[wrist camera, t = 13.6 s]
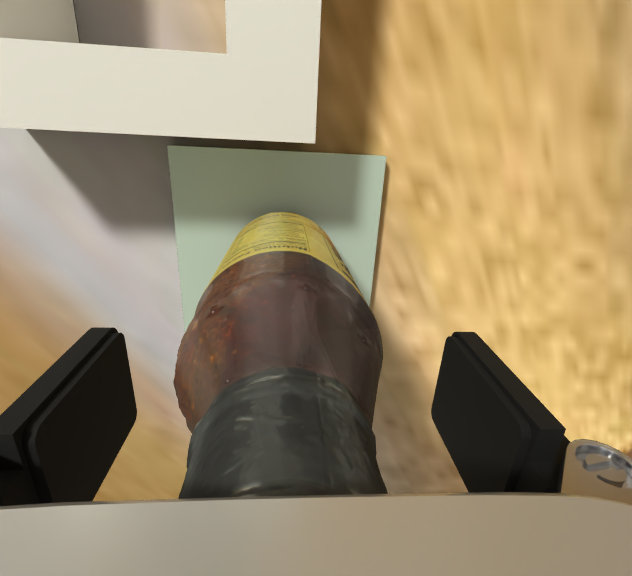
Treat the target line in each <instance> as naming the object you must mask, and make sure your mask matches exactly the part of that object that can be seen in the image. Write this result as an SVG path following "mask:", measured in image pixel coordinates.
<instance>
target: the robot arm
mask: <svg viewBox="0 0 632 576" xmlns="http://www.w3.org/2000/svg"><path fill="white" fill-rule="evenodd" d="M431 413H432V419H433V421H434V424H435V426H436V428H437V430H438V432H439V434H440V436H441V438H442V440H443V442H444V444H445V446H446V448H447V450H448V452H449V454H450V456H451V458H452V460H453V462H454V464H455V466H456V468H457V470H458V472H459V474H460V476H461V478H462V480H463V482H464V484H465V486H466V488H467V490H468V492H469V493H410V494H353V495H308V496H265V497H224V498H190V499H156V500H121V501H93V499H94V497H95V495H96V493H97V491H98V489H99V488H100V486H101V484H102V482H103V480H104V478H105V477H106V475H107V473H108V471H109V469H110V467H111V466H112V464H113V462H114V460H115V458H116V456H117V454H118V453H119V451H120V449H121V447H122V445H123V443H124V442H125V440H126V438H127V436H128V434H129V432H130V430H131V429H132V427H133V425H134V423H135V420H136V416H137V408H136V402H135V396H134V391H133V385H132V379H131V373H130V367H129V361H128V355H127V349H126V344H125V338H124V335H123V334H122V333H118V331H117V330H116V329H115V328H91V329H89V330H88V331H87V332H86V333H85V334H84V335H83V336H82V337H81V338H80V339H79V340H78V341H77V342H76V343H75V344H74V345H73V346H72V347H71V348H70V349H69V350H67V351H66V352H65V353H64V354H63V355H62V356H61V357H60V358H59V359H58V360H57V361H56V362H55V363H54V364H53V365H52V366H51V367H50V368H49V369H48V370H47V371H46V372H45V373H44V374H43V375H42V376H41V377H40V378H38V379H37V380H36V381H35V382H34V383H33V384H32V385H31V386H30V387H29V388H28V389H27V390H26V391H25V392H24V393H23V394H22V395H21V396H20V397H19V398H18V399H17V400H16V401H15V402H14V403H13V404H12V405H11V406H9V407H8V408H7V409H6V410H5V411H4V412H3V413H2V414H1V415H0V576H632V459H631V458H630V457H628V456H627V455H625V454H624V453H622V452H620V451H619V450H617V449H615V448H613V447H611V446H609V445H606V444H603V443H600V442H597V441H593V440H587V439H579V440H574V441H572V442H570V441H569V440H568V439H567V438H566V437H565V436H564V433H565V430H566V429H565V428H564V426H563V425H562V424H561V423H560V422H559V421H558V420H557V419H556V418H555V417H554V416H553V415H552V414H551V413H550V412H549V410H548V409H547V408H546V407H545V406H544V405H543V404H542V403H541V402H540V401H539V400H538V399H537V398H536V397H535V396H534V394H533V393H532V392H531V391H530V390H529V389H528V388H527V387H526V386H525V385H524V384H523V383H522V382H521V381H520V380H519V379H518V377H517V376H516V375H515V374H514V373H513V372H512V371H511V370H510V369H509V368H508V367H507V366H506V365H505V364H504V363H503V361H502V360H501V359H500V358H499V357H498V356H497V355H496V354H495V353H494V352H493V351H492V350H491V349H490V348H489V347H488V345H487V344H486V343H485V342H484V341H483V340H482V339H481V338H480V337H479V336H478V335H477V334H476V333H475V332H454V333H453V334H452V336H451V337H447V339H446V342H445V346H444V351H443V356H442V361H441V366H440V370H439V375H438V380H437V385H436V389H435V394H434V399H433V404H432V409H431Z"/></svg>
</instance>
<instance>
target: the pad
mask: <svg viewBox="0 0 632 576" xmlns="http://www.w3.org/2000/svg"><path fill="white" fill-rule="evenodd" d="M167 149H168V160H169V171H170V181H171V192H172V202H173V213H174V223H175V234H176V245H177V255H178V266H179V276H180V287H181V297H182V308H183V319H184V329H185V332H186V330H187V328H188V326H189V324H190V323H191V321H192V319H193V318H194V315H195V311H196V307H197V305H198V302H199V300H200V298H201V296H202V294H203V292H204V290H205V289H206V287H207V285H208V284H209V282H210V280H211V278H212V277H213V275H214V273H215V272H216V270H217V268H218V267H219V265H220V263H221V261H222V260H223V258H224V256H225V255H226V253H227V251H228V249H229V248H230V246H231V244H232V243H233V241H234V239H235V238H236V236H237V235H238V233H239V232H240V231H241V230H242V229H243V228H244V227H245V226H246V225H247V224H248V223H249V222H251V221H253V220H255V219H256V218H258V217H261V216H263V215H266V214H268V213H274V212H292V213H295V214H298V215H301V216H303V217H306V218H308V219H310V220H312V221H313V222H315V223H316V224H318V225H319V226H320V227H321V228H322V229H323V230H324V231H325V233H326V234H327V235H328V237H329V238H330V240H331V241H332V243H333V245H334V246H335V248H336V250H337V251H338V253H339V255H340V257H341V259H342V261H343V262H344V264H345V265H346V267H347V268H348V270H349V272H350V274H351V275H352V277H353V279H354V281H355V283H356V285H357V287H358V289H359V290H360V292H361V294H362V295H363V297H364V299H365V300H366V302H367V304H368V306H369V308H370V299H371V290H372V281H373V272H374V263H375V254H376V245H377V236H378V227H379V218H380V209H381V200H382V191H383V182H384V173H385V164H386V156H382V155H361V154H341V153H320V152H300V151H279V150H259V149H238V148H218V147H197V146H177V145H167Z"/></svg>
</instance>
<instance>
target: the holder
mask: <svg viewBox="0 0 632 576" xmlns="http://www.w3.org/2000/svg"><path fill="white" fill-rule="evenodd" d="M225 9H226V38H227V54H220V53H206V52H192V51H179V50H165V49H151V48H137V47H124V46H110V45H96V44H82V43H79V37H78V30H77V24H76V18H75V12H74V6H73V0H0V127H2V128H21V129H41V130H60V131H80V132H100V133H119V134H139V135H158V136H178V137H197V138H217V139H237V140H256V141H276V142H295V143H315V136H316V113H317V90H318V68H319V45H320V22H321V0H225Z"/></svg>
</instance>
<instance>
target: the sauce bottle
mask: <svg viewBox="0 0 632 576" xmlns="http://www.w3.org/2000/svg"><path fill="white" fill-rule="evenodd" d="M177 356H178V358H177V363H176V369H175V378H174V387H175V390H176V395H177V398H178V403H179V408H180V409H181V412H182V414H183V415H184V417H185V418H186V422H187V427H188V428H189V430H190V431H191V433H192V436H191V440H190V444H189V450H188V457H187V472H186V476H185V480H184V483H183V486H182V489H181V492H180V495H179V498H178V499H190V498H224V497H265V496H308V495H353V494H388V493H387V489H386V487H385V484H384V482H383V479H382V477H381V474H380V471H379V468H378V464H377V460H376V441H375V435H374V433H373V431H372V423H373V415H374V408H375V401H376V394H377V387H378V381H379V376H380V372H381V367H382V359H383V347H382V340H381V335H380V331H379V328H378V325H377V322H376V320H375V317H374V315H373V313H372V311H371V309H370V308H369V306H368V304H367V302H366V300H365V299H364V297H363V295H362V294H361V292H360V290H359V289H358V287H357V285H356V283H355V281H354V279H353V277H352V275H351V274H350V272H349V270H348V268H347V267H346V265H345V264H344V262H343V261H342V259H341V257H340V255H339V253H338V251H337V250H336V248H335V246H334V245H333V243H332V241H331V240H330V238H329V237H328V235H327V234H326V233H325V231H324V230H323V229H322V228H321V227H320V226H319V225H318V224H316V223H315V222H313V221H312V220H310V219H308V218H306V217H303V216H301V215H298V214H295V213H292V212H274V213H268V214H266V215H263V216H261V217H258V218H256V219H255V220H253V221H251V222H249V223H248V224H247V225H246V226H245V227H244V228H243V229H242V230H241V231H240V232H239V233H238V235H237V236H236V238H235V239H234V241H233V243H232V244H231V246H230V248H229V249H228V251H227V253H226V255H225V256H224V258H223V260H222V261H221V263H220V265H219V267H218V268H217V270H216V272H215V273H214V275H213V277H212V278H211V280H210V282H209V284H208V285H207V287H206V289H205V290H204V292H203V294H202V296H201V298H200V300H199V302H198V305H197V307H196V311H195V315H194V318H193V319H192V321H191V323H190V324H189V326H188V328H187V330H186V332H185V334H184V336H183V338H182V341H181V345H180V347H179V350H178V355H177Z"/></svg>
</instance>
